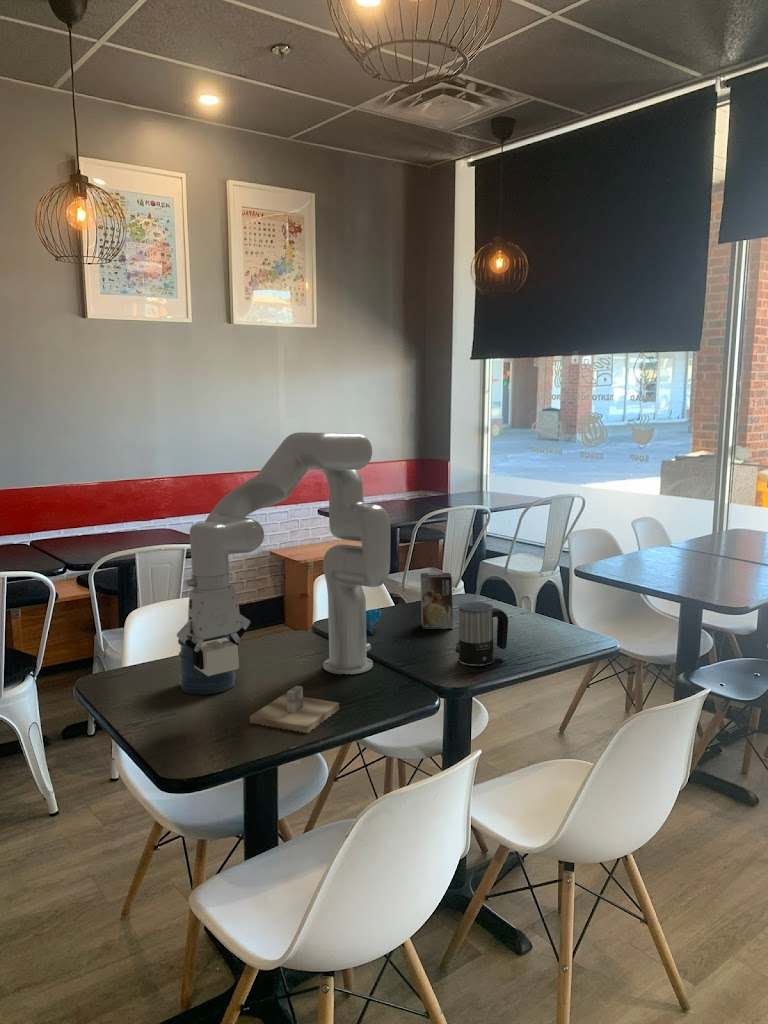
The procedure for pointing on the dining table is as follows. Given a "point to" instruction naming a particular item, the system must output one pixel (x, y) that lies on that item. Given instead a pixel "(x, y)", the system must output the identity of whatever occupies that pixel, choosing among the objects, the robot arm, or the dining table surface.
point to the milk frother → (480, 632)
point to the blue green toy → (372, 618)
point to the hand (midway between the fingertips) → (216, 663)
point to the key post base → (295, 712)
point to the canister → (195, 679)
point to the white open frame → (219, 656)
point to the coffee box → (436, 600)
